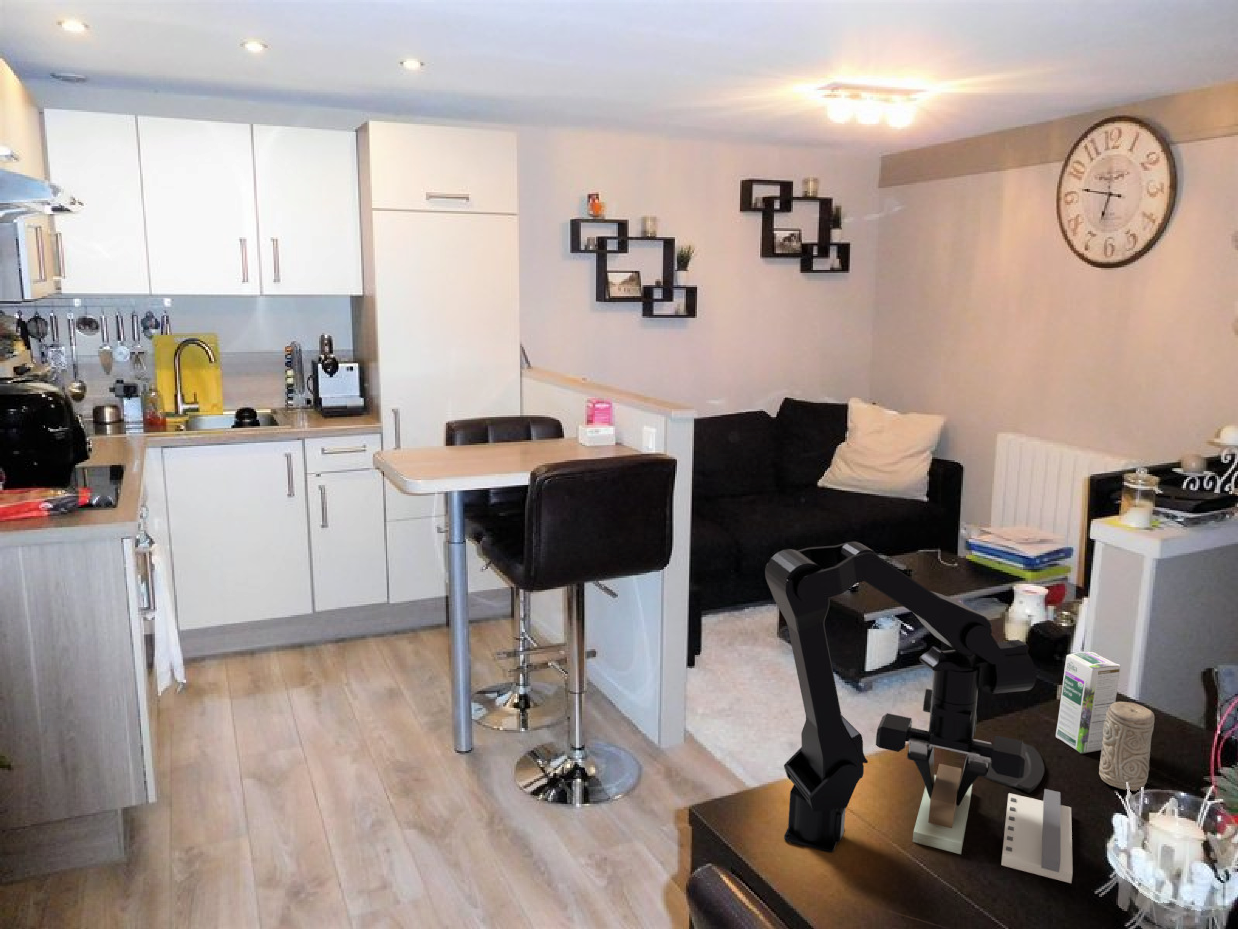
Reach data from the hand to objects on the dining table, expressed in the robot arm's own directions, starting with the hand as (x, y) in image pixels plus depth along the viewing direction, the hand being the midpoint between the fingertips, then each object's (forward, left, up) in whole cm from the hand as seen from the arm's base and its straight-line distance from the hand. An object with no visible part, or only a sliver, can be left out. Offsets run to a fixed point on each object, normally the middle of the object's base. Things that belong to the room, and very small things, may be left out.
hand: (944, 801), depth 126 cm
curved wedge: (+9, +18, -3) cm, 20 cm away
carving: (+23, +21, -3) cm, 31 cm away
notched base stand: (+12, 0, -3) cm, 12 cm away
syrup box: (+18, +32, -3) cm, 37 cm away
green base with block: (0, 0, -2) cm, 2 cm away
